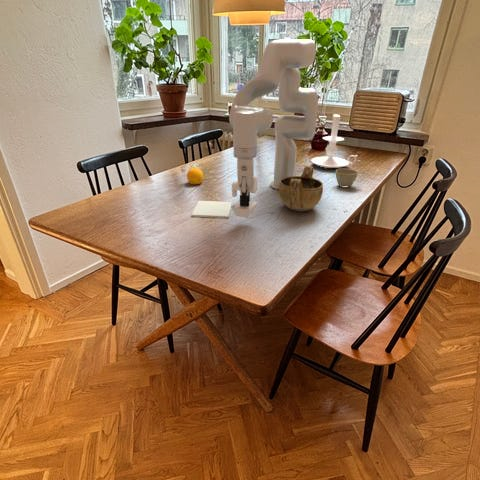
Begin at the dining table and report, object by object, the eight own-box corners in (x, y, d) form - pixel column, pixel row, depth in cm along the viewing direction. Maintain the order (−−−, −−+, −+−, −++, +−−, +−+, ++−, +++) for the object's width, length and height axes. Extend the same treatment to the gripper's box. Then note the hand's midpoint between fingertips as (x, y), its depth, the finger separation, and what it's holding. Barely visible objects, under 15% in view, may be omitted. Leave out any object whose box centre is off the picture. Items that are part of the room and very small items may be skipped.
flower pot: (356, 184, 157) (359, 169, 153) (353, 190, 149) (356, 175, 146) (335, 181, 161) (337, 167, 157) (331, 187, 153) (333, 172, 149)
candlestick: (348, 176, 168) (358, 119, 155) (304, 168, 181) (310, 114, 167) (360, 167, 183) (370, 114, 170) (319, 160, 195) (325, 110, 182)
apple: (201, 186, 152) (200, 171, 149) (185, 185, 154) (183, 169, 150) (205, 181, 159) (205, 166, 156) (190, 180, 161) (189, 165, 157)
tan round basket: (312, 223, 119) (317, 183, 112) (269, 214, 125) (271, 176, 118) (325, 202, 137) (330, 167, 130) (286, 195, 143) (289, 161, 136)
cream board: (232, 203, 134) (232, 201, 134) (228, 218, 122) (228, 216, 122) (198, 202, 135) (198, 200, 135) (191, 216, 123) (191, 214, 123)
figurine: (237, 207, 121) (236, 168, 113) (260, 212, 117) (261, 172, 109) (228, 215, 115) (226, 175, 107) (252, 221, 111) (252, 179, 104)
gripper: (255, 158, 98) (254, 214, 107) (257, 145, 112) (256, 195, 121) (231, 158, 98) (231, 213, 107) (235, 144, 112) (236, 194, 121)
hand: (244, 203), depth 114 cm, fingers closed on figurine, 3 cm apart
